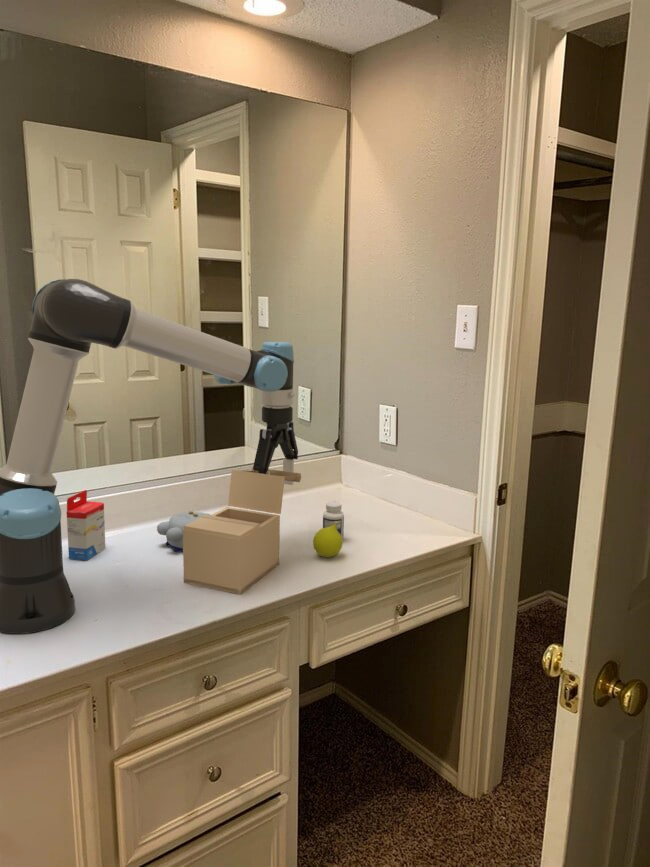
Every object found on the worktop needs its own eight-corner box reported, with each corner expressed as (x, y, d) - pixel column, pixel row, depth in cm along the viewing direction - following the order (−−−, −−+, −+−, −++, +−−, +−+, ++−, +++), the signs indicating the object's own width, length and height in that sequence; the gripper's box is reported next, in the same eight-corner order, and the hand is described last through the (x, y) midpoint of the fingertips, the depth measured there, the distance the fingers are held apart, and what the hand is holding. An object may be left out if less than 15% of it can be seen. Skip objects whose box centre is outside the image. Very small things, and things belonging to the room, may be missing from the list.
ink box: (87, 561, 152) (84, 500, 149) (67, 559, 153) (64, 498, 150) (106, 548, 160) (104, 490, 157) (88, 546, 161) (85, 488, 158)
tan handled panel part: (227, 505, 155) (250, 503, 166) (279, 513, 150) (299, 510, 161) (232, 467, 155) (254, 467, 166) (283, 474, 150) (303, 473, 161)
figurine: (176, 561, 152) (249, 552, 165) (179, 525, 151) (253, 519, 164) (146, 539, 166) (217, 532, 178) (149, 506, 165) (219, 502, 177)
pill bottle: (328, 535, 173) (329, 499, 171) (346, 539, 171) (347, 503, 169) (318, 541, 169) (319, 504, 167) (337, 545, 166) (338, 508, 164)
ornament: (347, 559, 157) (348, 519, 155) (320, 563, 154) (321, 523, 152) (333, 549, 163) (334, 510, 161) (307, 553, 160) (308, 514, 158)
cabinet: (240, 594, 136) (240, 535, 134) (183, 582, 141) (182, 525, 139) (279, 564, 152) (279, 511, 150) (227, 554, 158) (227, 503, 155)
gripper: (267, 414, 147) (266, 505, 151) (311, 400, 169) (310, 480, 173) (238, 411, 150) (238, 501, 154) (285, 398, 172) (284, 477, 176)
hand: (276, 490), depth 164 cm, fingers open, 13 cm apart
